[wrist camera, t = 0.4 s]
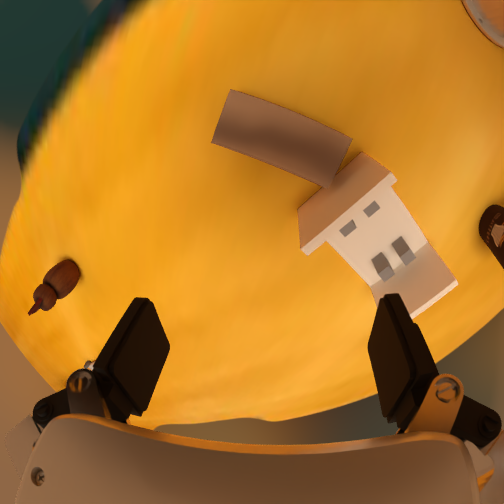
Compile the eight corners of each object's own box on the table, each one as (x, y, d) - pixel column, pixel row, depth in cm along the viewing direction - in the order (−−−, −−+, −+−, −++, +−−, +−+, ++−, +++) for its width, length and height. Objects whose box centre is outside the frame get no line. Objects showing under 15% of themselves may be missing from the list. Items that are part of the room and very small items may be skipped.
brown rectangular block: (239, 91, 27) (230, 89, 23) (342, 133, 28) (352, 139, 24) (222, 137, 30) (211, 142, 26) (322, 177, 31) (328, 189, 27)
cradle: (362, 151, 29) (391, 171, 20) (427, 243, 33) (458, 284, 25) (297, 209, 34) (300, 249, 25) (372, 286, 38) (388, 334, 30)
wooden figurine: (72, 252, 42) (23, 301, 30) (88, 276, 45) (44, 329, 32) (56, 260, 44) (12, 306, 31) (71, 283, 47) (31, 331, 34)
